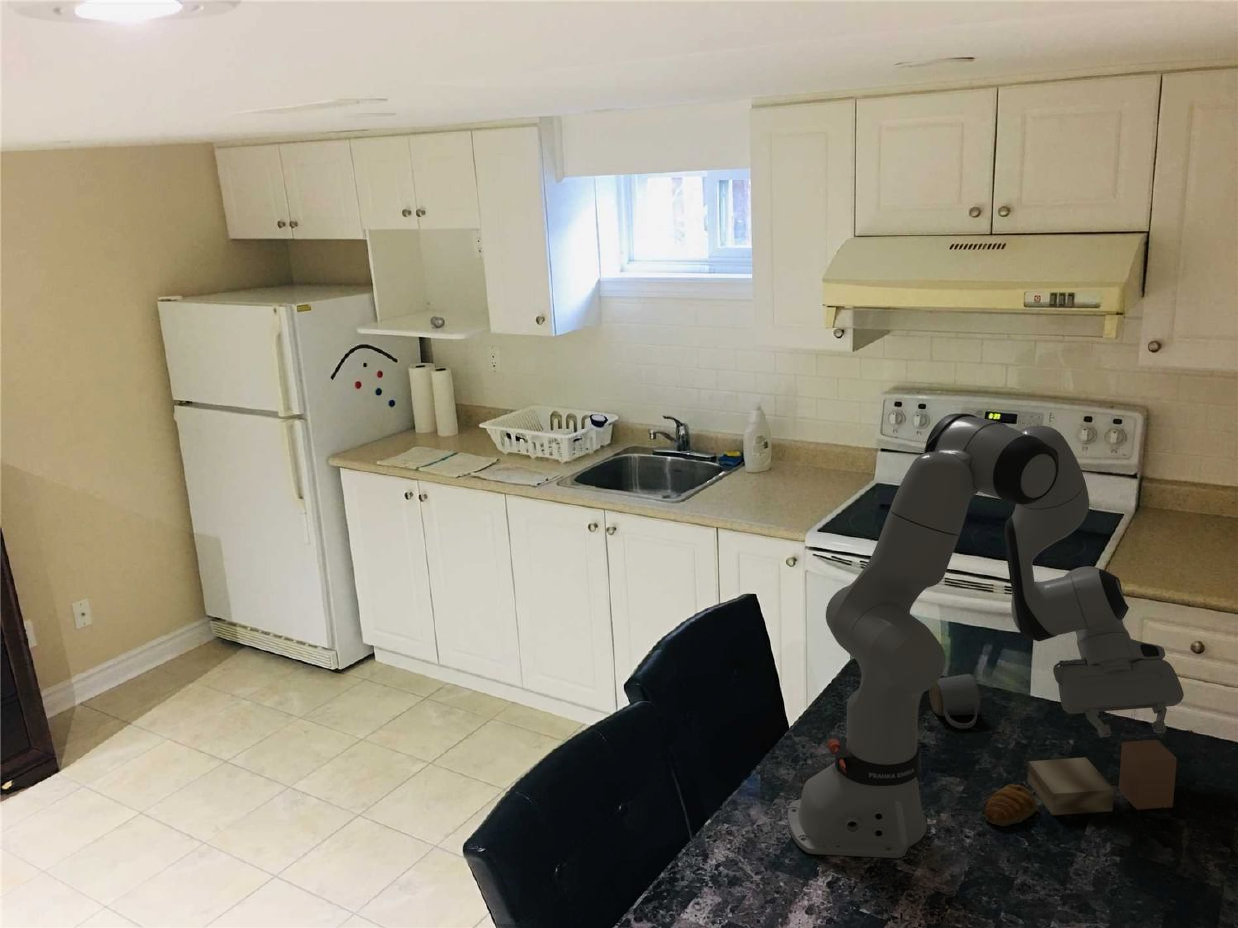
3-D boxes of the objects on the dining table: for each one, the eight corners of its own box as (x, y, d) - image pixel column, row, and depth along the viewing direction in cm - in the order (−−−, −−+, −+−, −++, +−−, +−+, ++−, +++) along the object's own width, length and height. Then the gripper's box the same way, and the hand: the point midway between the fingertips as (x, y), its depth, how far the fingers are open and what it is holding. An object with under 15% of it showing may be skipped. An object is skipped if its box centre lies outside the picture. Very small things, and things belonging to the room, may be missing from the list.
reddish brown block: (1136, 809, 171) (1140, 760, 169) (1118, 789, 177) (1121, 741, 175) (1172, 806, 171) (1176, 758, 169) (1153, 786, 177) (1157, 739, 175)
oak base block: (1052, 815, 171) (1053, 793, 170) (1027, 781, 181) (1028, 761, 180) (1112, 810, 171) (1114, 789, 170) (1084, 777, 181) (1085, 757, 180)
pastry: (1011, 835, 167) (1011, 814, 166) (973, 818, 172) (973, 798, 171) (1040, 811, 173) (1041, 790, 172) (1002, 795, 178) (1003, 775, 177)
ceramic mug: (926, 705, 209) (927, 670, 207) (966, 701, 209) (967, 667, 207) (945, 732, 199) (946, 696, 196) (987, 728, 199) (989, 692, 197)
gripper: (1056, 655, 181) (1079, 733, 174) (1172, 646, 181) (1200, 724, 174) (1044, 667, 186) (1066, 743, 179) (1157, 658, 187) (1183, 734, 180)
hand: (1133, 734), depth 177 cm, fingers open, 8 cm apart
